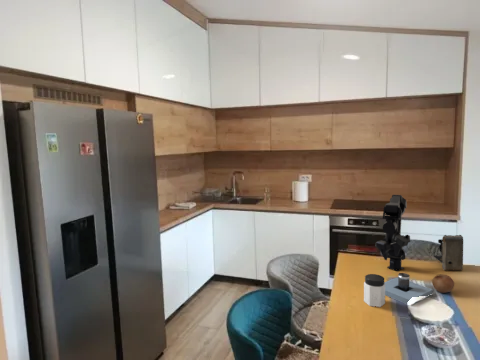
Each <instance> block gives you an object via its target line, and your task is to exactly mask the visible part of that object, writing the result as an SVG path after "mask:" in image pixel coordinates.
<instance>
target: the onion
mask: <svg viewBox="0 0 480 360" xmlns="http://www.w3.org/2000/svg"><path fill="white" fill-rule="evenodd" d="M431 284H432V287H433V289H435V291H437V292H439V293H441V294H446V293H449V292H451V291H452V290H453V289H454V287H455V282H454V279H453V278H452V276H451V275H447V274H444V273H441V274H437V275H435V276H433V278H432V280H431Z"/></svg>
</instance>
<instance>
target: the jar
mask: <svg viewBox="0 0 480 360" xmlns="http://www.w3.org/2000/svg"><path fill="white" fill-rule="evenodd" d="M384 282H385V277H384V276H382V275H380V274H376V273H368V274H365V276H364V282H363V302H364V303H366V304H367V306H369V307H375V306H376V308H381V307H383V306H384V305H385V304H386V295H385V284H384Z"/></svg>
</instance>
